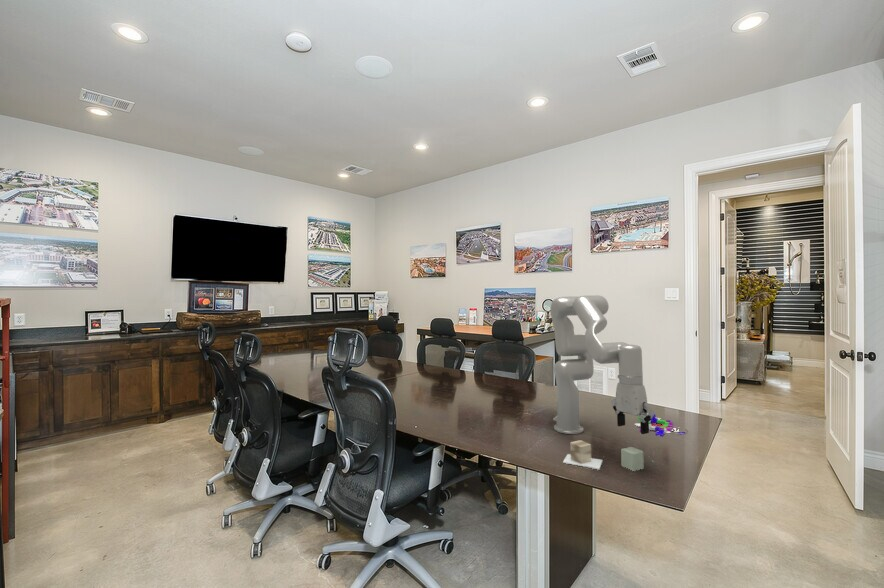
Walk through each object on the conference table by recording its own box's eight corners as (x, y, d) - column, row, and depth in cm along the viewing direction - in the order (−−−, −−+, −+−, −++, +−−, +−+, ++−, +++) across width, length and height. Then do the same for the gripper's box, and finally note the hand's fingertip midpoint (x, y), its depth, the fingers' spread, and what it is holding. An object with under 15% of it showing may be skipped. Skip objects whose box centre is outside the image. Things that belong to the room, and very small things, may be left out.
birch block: (570, 458, 145) (570, 442, 145) (580, 456, 147) (580, 440, 147) (580, 463, 140) (580, 446, 140) (591, 461, 143) (591, 444, 143)
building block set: (681, 441, 163) (681, 430, 164) (628, 431, 177) (628, 421, 177) (691, 425, 183) (691, 416, 183) (642, 417, 196) (642, 408, 196)
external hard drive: (599, 472, 137) (562, 465, 143) (602, 464, 144) (567, 457, 150) (599, 468, 137) (562, 461, 143) (602, 459, 144) (567, 453, 150)
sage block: (621, 466, 140) (621, 449, 140) (631, 463, 142) (631, 446, 142) (633, 471, 136) (633, 454, 136) (643, 468, 138) (643, 451, 138)
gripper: (603, 377, 145) (605, 424, 145) (644, 385, 130) (646, 438, 129) (618, 375, 148) (620, 421, 148) (660, 383, 133) (662, 434, 132)
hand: (632, 429), depth 138 cm, fingers open, 9 cm apart
